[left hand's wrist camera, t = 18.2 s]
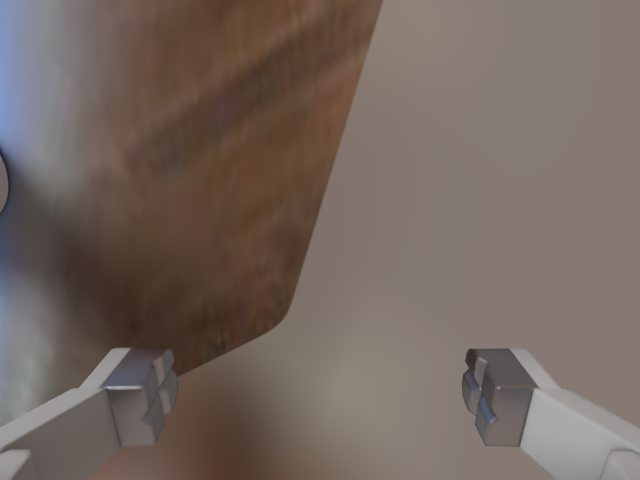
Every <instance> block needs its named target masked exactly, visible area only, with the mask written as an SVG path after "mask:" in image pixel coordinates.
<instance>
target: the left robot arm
mask: <svg viewBox="0 0 640 480" xmlns="http://www.w3.org/2000/svg"><path fill="white" fill-rule="evenodd" d="M7 196H8V176H7V171H6V167H5V164H4V162H3V159H2V157H1V155H0V213H1V211H2V210H3V208H4V206H5V203H6V200H7ZM174 362H175V360H174V355H173V351H172V350H171V349H170V348H114V349H112V350H111V351H110V352H109V353H108V354H107V355H106V357H105V358H104V359H103V360H102V361H101V362H100V364H99V365H98V366H97V367H96V368H95V370H94V371H93V372H92V373H91V374H90V376H89V377H88V378H87V379H86V380H85V382H84V383H83V384H82V385H81V386H80V387H79V388H73V389H71V390H69V391H67V392H65V393H63V394H61V395H60V396H58V397H56V398H54V399H52V400H50V401H48V402H46V403H45V404H43V405H41V406H39V407H37V408H35V409H33V410H31V411H30V412H28V413H26V414H24V415H22V416H20V417H18V418H17V419H15V420H13V421H11V422H9V423H7V424H5V425H3V426H2V427H0V480H85V479H86V478H88V477H89V476H90V475H91V474H92V473H93V472H94V471H96V470H97V469H98V468H99V467H100V466H101V465H102V464H104V463H105V462H106V461H107V460H108V459H109V458H110V457H112V456H113V455H114V454H115V453H116V452H117V451H118V450H120V447H128V446H155V444H156V442H157V440H158V438H159V436H160V434H161V432H162V430H163V428H164V425H165V421H164V416H165V415H166V414H168V413H169V412H170V411H172V409H173V406H174V404H175V402H176V397H177V393H178V379H177V374H176V373H175V372H174V371H173V370H172V369H171V367H172V365H173V364H174ZM465 362H466V364H467V365H468V367H469V369H468V370H467V371H466V372H465V373H464V374H463V379H462V392H463V398H464V401H465V404H466V406H467V409H468V411H470V412H471V413H472V414H474V415H475V416H476V421H475V425H476V428H477V430H478V432H479V434H480V436H481V438H482V440H483V442H484V444H485V446H512V447H520V449H521V450H522V451H523V452H524V453H525V454H526V455H527V456H529V457H530V458H531V459H532V460H533V461H534V462H536V463H537V464H538V465H539V466H540V467H541V468H542V469H544V470H545V471H546V472H547V473H548V474H549V475H550V476H551V477H553V478H554V479H555V480H640V427H638V426H636V425H634V424H633V423H631V422H629V421H627V420H625V419H623V418H621V417H620V416H618V415H616V414H614V413H612V412H610V411H608V410H606V409H605V408H603V407H601V406H599V405H597V404H595V403H593V402H592V401H590V400H588V399H586V398H584V397H582V396H580V395H579V394H577V393H575V392H573V391H571V390H569V389H567V388H560V386H559V385H558V384H557V383H556V382H555V380H554V379H553V378H552V377H551V376H550V374H549V373H548V372H547V371H546V370H545V368H544V367H543V366H542V365H541V364H540V363H539V361H538V360H537V359H536V358H535V357H534V355H533V354H532V353H531V352H530V351H529V350H528V349H526V348H524V347H522V348H505V349H469V350H468V352H467V354H466V360H465Z"/></svg>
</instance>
